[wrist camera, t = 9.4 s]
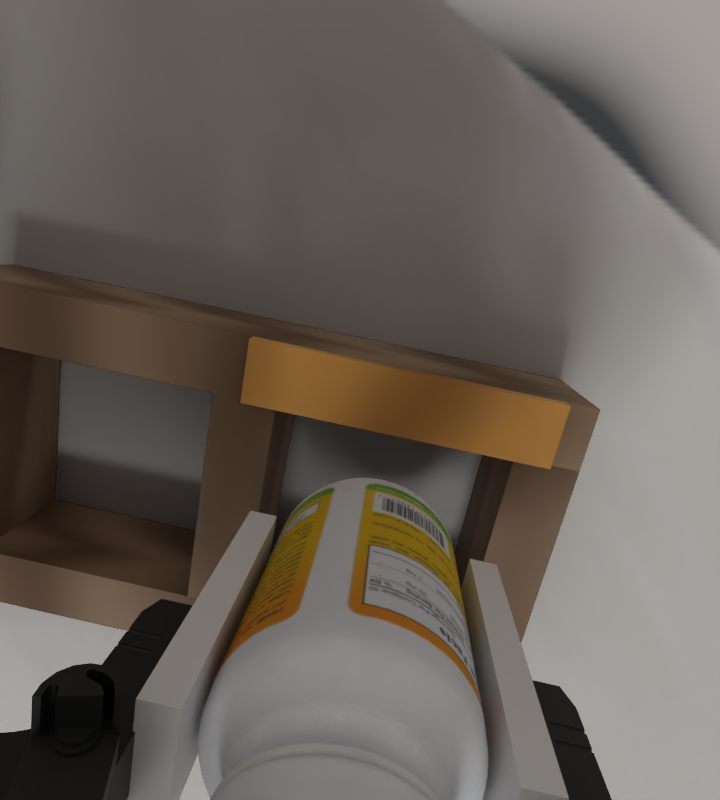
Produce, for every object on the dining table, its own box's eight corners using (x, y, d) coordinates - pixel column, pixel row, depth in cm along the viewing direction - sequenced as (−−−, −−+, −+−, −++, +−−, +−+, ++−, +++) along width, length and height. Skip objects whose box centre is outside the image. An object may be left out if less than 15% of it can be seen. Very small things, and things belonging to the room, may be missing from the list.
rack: (9, 530, 23) (-81, 592, 19) (12, 264, 20) (-95, 265, 15) (480, 636, 22) (498, 724, 18) (560, 379, 19) (605, 413, 15)
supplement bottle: (295, 632, 17) (165, 1080, 8) (266, 481, 16) (67, 801, 6) (461, 622, 16) (536, 1095, 7) (445, 464, 15) (513, 790, 6)
